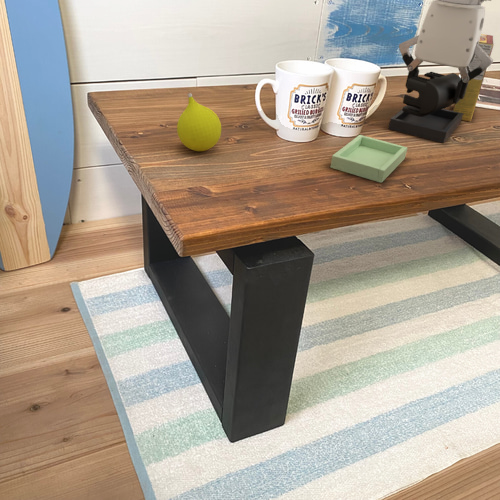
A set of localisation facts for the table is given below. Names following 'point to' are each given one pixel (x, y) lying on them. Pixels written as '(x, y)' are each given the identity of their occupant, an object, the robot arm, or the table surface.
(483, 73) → the candy box
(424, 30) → the robot arm
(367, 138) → the sage tray
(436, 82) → the end cap
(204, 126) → the ornament
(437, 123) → the charcoal tray
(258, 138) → the table surface
